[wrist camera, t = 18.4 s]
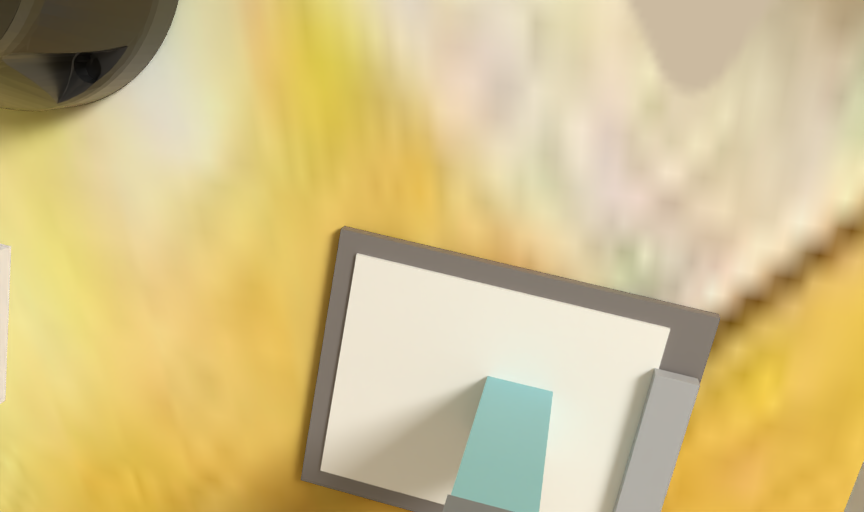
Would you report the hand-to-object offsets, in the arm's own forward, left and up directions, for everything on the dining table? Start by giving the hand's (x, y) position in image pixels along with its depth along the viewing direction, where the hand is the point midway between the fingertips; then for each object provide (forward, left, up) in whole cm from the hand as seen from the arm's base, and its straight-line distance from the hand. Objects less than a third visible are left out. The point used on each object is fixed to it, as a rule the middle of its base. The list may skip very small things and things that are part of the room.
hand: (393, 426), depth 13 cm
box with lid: (+2, -12, -26) cm, 29 cm away
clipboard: (+1, -12, -27) cm, 29 cm away
